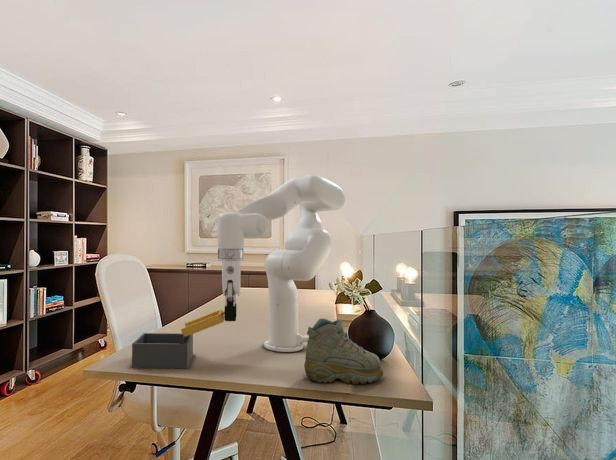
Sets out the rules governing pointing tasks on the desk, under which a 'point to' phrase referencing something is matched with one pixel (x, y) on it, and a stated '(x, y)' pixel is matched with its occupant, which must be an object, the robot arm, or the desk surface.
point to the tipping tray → (203, 322)
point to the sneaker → (338, 356)
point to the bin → (162, 350)
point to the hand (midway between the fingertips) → (230, 318)
